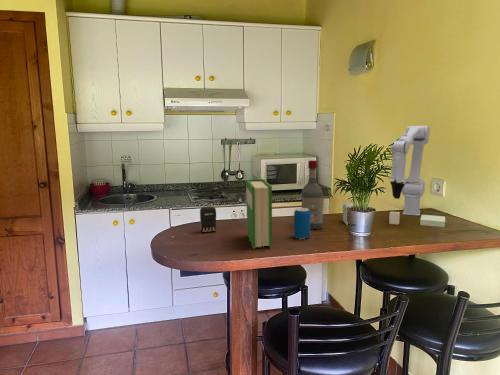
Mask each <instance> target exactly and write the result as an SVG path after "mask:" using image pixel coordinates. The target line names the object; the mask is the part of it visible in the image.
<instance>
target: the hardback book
mask: <svg viewBox="0 0 500 375" xmlns="http://www.w3.org/2000/svg"><path fill="white" fill-rule="evenodd" d="M245 184H246V186H245V188H246V193H245V194H246V236H247V235H248V237H249V239H248V241H249V240H250V242H251V244H252V246H251V248H252V247H255V248H265V247H264V246H270V247H272V248H273V187H272V185H271V184H270V183H269V182H267V180H266V179H264V178H259V179H258V178H257V179H245ZM248 237H247V238H248ZM250 242H249V243H250ZM251 244H250V245H251ZM262 246H263V247H262Z"/></svg>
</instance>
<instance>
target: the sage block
mask: <svg viewBox="0 0 500 375" xmlns="http://www.w3.org/2000/svg"><path fill="white" fill-rule="evenodd" d="M419 222H420V224H419V225H420V226H427V227H428V226H429V227H437V228H439V227H440V228H445V227H446V216H441V215H430V214H420V221H419Z"/></svg>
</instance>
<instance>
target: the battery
mask: <svg viewBox="0 0 500 375" xmlns="http://www.w3.org/2000/svg"><path fill="white" fill-rule="evenodd" d="M199 220H200V231H201V230H204V229H205V230H206V229H207V230H214V229H215V230H216V231H217V208H216V207H215V206H214V205H205V206H201V207H200V209H199Z"/></svg>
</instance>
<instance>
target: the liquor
mask: <svg viewBox="0 0 500 375" xmlns="http://www.w3.org/2000/svg"><path fill="white" fill-rule="evenodd" d="M317 162H318V161H317V160H313V159H312V160H308V162H307V163H308V165H307V166H308V181H307V183H306V184H305V186H303V187H302V190H301V208H308V209H309V211H310V229H318V230H321V228H322V229H323V227H324V226H323V225H324V224H323V222H324V221H323V220H324V218H323V216H324V214H323V213H324V210H323V209H324V192H323V189H322V188H321V186H320V185H319V183H317V169H318V168H317V167H318V163H317Z"/></svg>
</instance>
